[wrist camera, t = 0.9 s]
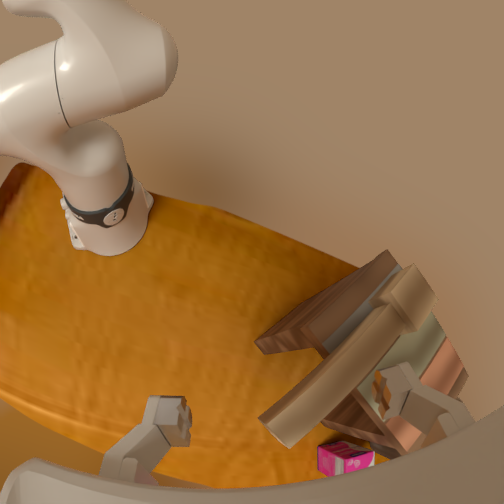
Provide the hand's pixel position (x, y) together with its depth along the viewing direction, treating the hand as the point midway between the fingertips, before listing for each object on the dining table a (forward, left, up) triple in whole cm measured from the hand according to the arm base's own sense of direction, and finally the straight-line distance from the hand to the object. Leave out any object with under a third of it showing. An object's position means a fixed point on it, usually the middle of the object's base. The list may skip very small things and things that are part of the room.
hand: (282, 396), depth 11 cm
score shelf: (+12, +15, -39) cm, 44 cm away
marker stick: (+6, +10, -13) cm, 17 cm away
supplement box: (+29, +6, -40) cm, 49 cm away
